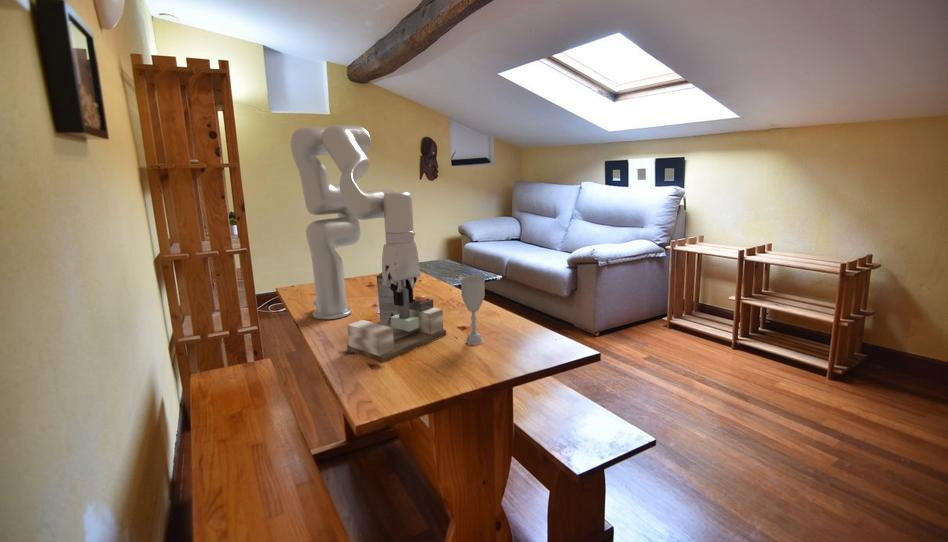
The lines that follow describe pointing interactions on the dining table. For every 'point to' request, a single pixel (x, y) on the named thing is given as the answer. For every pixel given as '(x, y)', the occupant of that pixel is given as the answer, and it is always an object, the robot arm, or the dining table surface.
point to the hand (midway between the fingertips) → (403, 303)
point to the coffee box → (386, 302)
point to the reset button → (420, 298)
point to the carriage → (405, 315)
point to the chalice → (473, 302)
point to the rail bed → (396, 333)
